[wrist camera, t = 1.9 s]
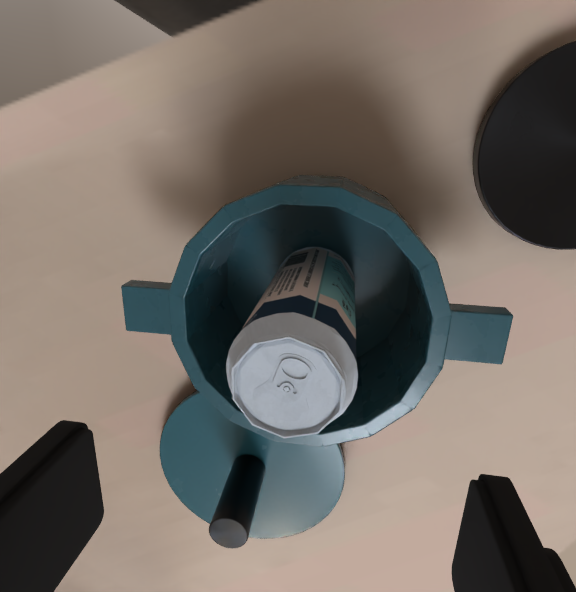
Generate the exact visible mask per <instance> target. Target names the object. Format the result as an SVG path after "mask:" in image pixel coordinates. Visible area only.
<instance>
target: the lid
mask: <svg viewBox="0 0 576 592" xmlns="http://www.w3.org/2000/svg"><path fill="white" fill-rule="evenodd" d="M160 459H161V465H162V468H163V471H164V474H165V477H166V479H167V481H168V483H169V485H170V487H171V488H172V490H173V491H174V493H175V494H176V495H177V497H178V498H179V499H180V500H181V502H182V503H183V504H184V505H185V506H186V507H187V508H188V509H189V510H191V511H192V512H193V513H194V514H196V515H197V516H198V517H200V518H201V519H203V520H204V521H206V522H207V523H209V524H210V526H209V533H210V536H211V537H212V539H213V540H214V541H215V542H216V543H217V544H219V545H221V546H223V547H226V548H238V547H241V546H242V545H244V544H245V543H246V541H247V539H248V537H250V538H260V539H273V538H282V537H287V536H292V535H295V534H298V533H301V532H304V531H306V530H308V529H310V528H312V527H313V526H315V525H316V524H318V523H319V522H321V521H322V520H323V519H324V518H325V517H326V516H327V515H328V514H329V513H330V512H331V511H332V509H333V508H334V507H335V505H336V503H337V501H338V500H339V498H340V495H341V492H342V489H343V484H344V478H345V463H344V456H343V452H342V449H341V446H340V443H339V444H334V445H329V446H325V447H323V446H322V447H319V446H311V445H302V444H294V443H286V442H277V441H274V440H273V441H272V440H270V439H268V438H266V437H264V436H261V435H259V434H257V433H255V432H253V431H251V430H249V429H247V428H244V427H242V426H240V425H238V424H236V423H234V422H232V421H230V420H228V419H227V418H226V417H225V416H224V415H223V414H222V413H221V412H220V411H218V410H217V409H216V408H215V407H214V406H213V405H212V404H211V403H210V402H209V401H208V400H207V399H206V398H205V397H204V396H203V395H202V394H201V393H200V392H199V391H196V392H194V393H192V394H191V395H189V396H188V397H187V398H185V399H184V400H183V401H182V402H181V403H180V404H179V405H178V406H177V407H176V408H175V410H174V411H173V412H172V414H171V415H170V417H169V418H168V420H167V422H166V424H165V426H164V429H163V432H162V435H161V441H160Z"/></svg>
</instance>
